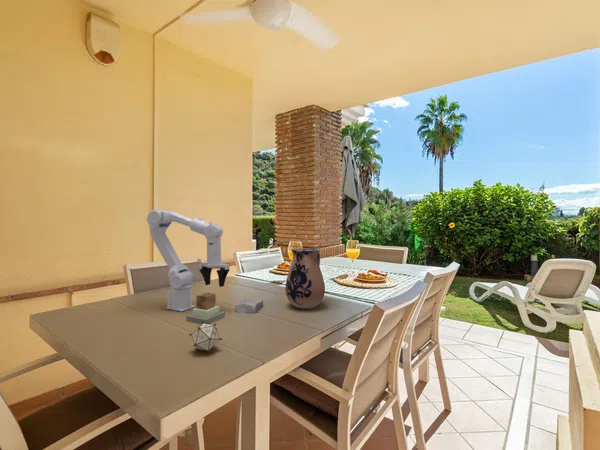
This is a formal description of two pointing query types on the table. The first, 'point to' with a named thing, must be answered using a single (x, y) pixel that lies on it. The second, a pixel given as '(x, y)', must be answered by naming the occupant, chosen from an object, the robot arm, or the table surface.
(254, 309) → the stone block
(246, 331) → the table surface
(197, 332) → the game die
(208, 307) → the walnut cube
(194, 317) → the grey square slab
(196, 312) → the sage block
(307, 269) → the ceramic pitcher
